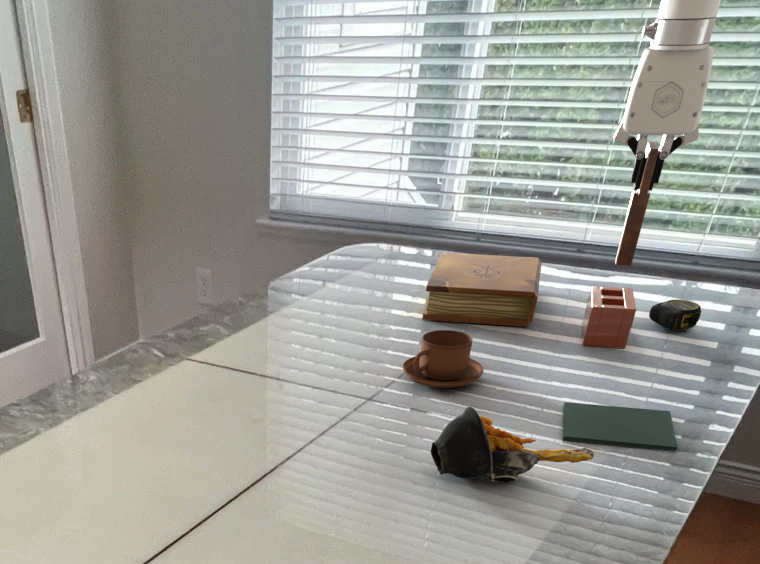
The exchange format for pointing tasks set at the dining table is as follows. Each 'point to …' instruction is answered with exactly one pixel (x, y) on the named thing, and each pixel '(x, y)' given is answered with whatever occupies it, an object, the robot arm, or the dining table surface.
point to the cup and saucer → (444, 361)
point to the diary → (483, 289)
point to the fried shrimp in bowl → (490, 450)
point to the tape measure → (676, 314)
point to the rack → (608, 317)
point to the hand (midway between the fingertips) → (642, 188)
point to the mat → (618, 426)
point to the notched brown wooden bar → (637, 210)
